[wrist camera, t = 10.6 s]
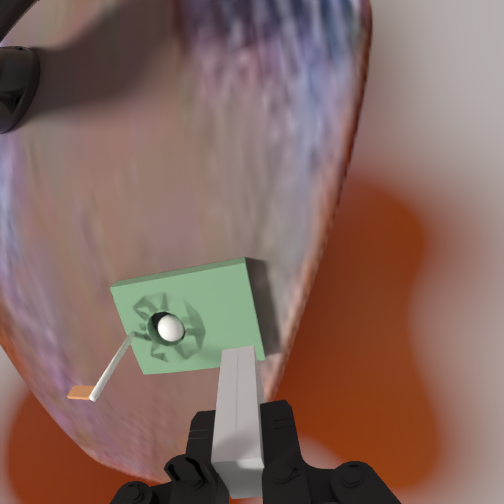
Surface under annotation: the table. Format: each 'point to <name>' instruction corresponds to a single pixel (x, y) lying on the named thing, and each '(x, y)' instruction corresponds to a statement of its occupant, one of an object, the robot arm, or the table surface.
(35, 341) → the table surface
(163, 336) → the ball
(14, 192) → the table surface
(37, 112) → the table surface
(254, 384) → the robot arm
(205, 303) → the green
